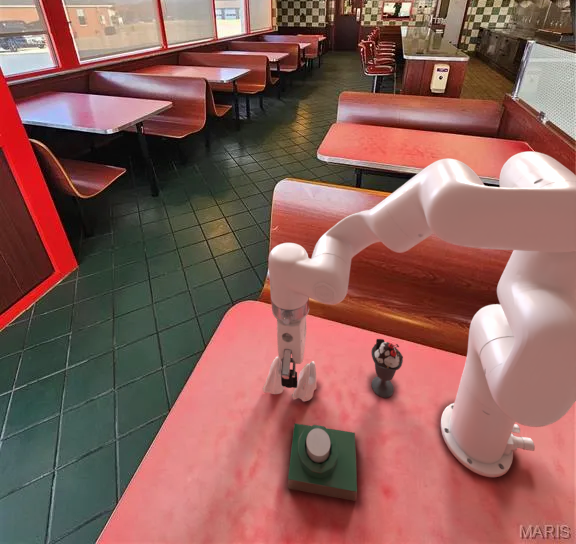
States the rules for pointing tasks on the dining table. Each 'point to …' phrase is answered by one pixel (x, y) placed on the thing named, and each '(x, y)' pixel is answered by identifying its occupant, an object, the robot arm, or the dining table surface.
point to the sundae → (385, 366)
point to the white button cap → (318, 445)
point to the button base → (324, 465)
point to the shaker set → (305, 377)
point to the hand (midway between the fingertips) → (292, 363)
